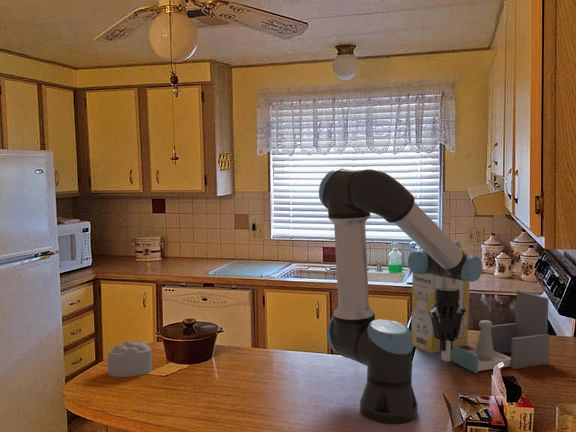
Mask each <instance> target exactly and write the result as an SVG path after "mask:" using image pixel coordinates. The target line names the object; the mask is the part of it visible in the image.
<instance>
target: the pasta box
mask: <svg viewBox="0 0 576 432" xmlns="http://www.w3.org/2000/svg"><path fill="white" fill-rule="evenodd" d="M411 282H412V284H411V285H412V287H411V289H412V290H411V291H412V292H411V297H412V298H411V325H410V328H411V329H410V331H411V333H412V342H413V347H414V348H418V349H421V350H422V351H425V352H428V353H431V354H434V353H438V352H439V353H440V352H441V351H442V350H440V340H438V339H436V338H435V336H434V331H433V326H432V320H431V317H430V315H429V313H428V311H429V310H431V311H432V310H433V309H434V308H435V304H436V299H435V290H436V288H437V287H436V286H435V284H436V275H432V274H424V275H421V274H419V275H417V274H414V273H413V272H412V281H411ZM458 289H459V290H460V299H459V301H458V303H459V307H461V308H463V309H465V313H464V315H463V317H462V321H461V326H460V330H459V335H458V338H455V341H452V344H453V345H456V346H458V347H460V348H463V347H467V346H468V344H469V343H468V341H469V315H470V314H469V313H470V312H469V310H470V308H469V306H470V281H462V280H460V288H458ZM437 313H438V312H437ZM438 318H439V314H438ZM439 323H440V319H439Z"/></svg>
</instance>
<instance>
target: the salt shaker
mask: <svg viewBox="0 0 576 432" xmlns="http://www.w3.org/2000/svg"><path fill="white" fill-rule="evenodd" d="M478 327H479V328H480V331H479V336H478V340H477V343H476V347H475V350H476V354H477V355H478V356H479V357H478V359H479V360H482V361H490V360H491V359H492V357H493V355H494V349H493V342H492V335H491V329H492V327H493V322H492V321H491V320H488V319H483V320H480V321H479V322H478Z"/></svg>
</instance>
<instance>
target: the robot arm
mask: <svg viewBox="0 0 576 432" xmlns="http://www.w3.org/2000/svg"><path fill="white" fill-rule="evenodd" d="M318 188H319V189H318V196H319V200H320V203H321V204H322V205H323V207H325V208H326V209H327V214H328V215H327V217H328V218H327V219H328V220H329V221H331V222H332V223H333V225H334V227H333V228H334V246H335V263H336V285H337V304H338V306H337V308H336V309H335V310H334V311H333V317H332V318H330V320H329V323H328V324H327V326H326V327H327V328H326V339H327V343H328V345H329V347H330V348H331V349H332V350H333V351H334V352H335V353H336V354H338V355H340V356H341V357H344V358H346V359H349V360H352V361H354V362H357V363H360V364H362V365H364V366H366V369H367V371H366V384H365V386H364V389H363V392H362V395H361V398H360V400H359V411H360V413H361V414H362V415H363V417H366V418H367V419H370V420H371V421H375V422H379V423H382V424H383V423H384V424H405V423H409V422H411V421H414V420H415V419H416V418H417V417H418V412H419V411H418V409H419V407H418V406H419V405H418V401H417V398H416V395H415V393H414V389H413V385H412V381H413V380H412V379H413V378H412V375H413V355H414V353H413V350H414V346H413V342H412V333H411V329H410V328H409V327H408V326H407V325H405V324H403V323H402V322H398V321H395V320H390V319H376V317H375V315H376V313H375V310H374V309H373V308H372V307H371V306H370V303H369V301H370V299H369V277H368V257H367V255H368V254H367V236H366V235H367V234H366V232H367V231H366V222H367V221H368V220H369V219H370V218H371V214H374V215H377V216H379V217H380V218H383V219H384V221H385V222H387V223H390V224H395V225H396V226H397V227H398V228H399V229H400V230H401V231H402V232H403V233H404V234H406V235H407V236H408V237H409V238H410V239H411V240H412V241H413V242H414V243H415V244H417V245H418V247H420V249H417V250H413V251H412V252H410V254H409V255H408V258H407V267H408V269H409V270H410V272H411V273H412V274H413V273H414V274H417V275H419V274H421V275H424V274H432V275H436V284H435V286H436V287H437V288H436V290H435V299H436V304H435V308H434V309H433V310H432V311H431V310H429V311H428V313H429V315H430V317H431V320H432V326H433V331H434V336H435V338H436V339H438V340H440V350H442V351H440V353H441V354H440V355H441V356H440V358H441V360H443V361H445V362H447V363H449V362H451V360H450V352H451V350H452V341H455V338H458V335H459V330H460V326H461V321H462V317H463V315H464V313H465V309H463V308H461V307H459V303H458V301H459V299H460V290H459V289H458V288H460V280H462V281H469V283H470V282H471V283H473V282H476V281H478V280H479V279H480V277H481V275H482V273H483V267H484V266H483V262H482V259H481V258H479V256H474V255H473V254H467V253H466V252H464V250H462V249H461V247H462V246H461V243H460V242H459V241H458V240H453V239H452V238H450V236H448V234H447V233H446V232H444V231H443V229H441V227H439V226H438V225H437V224H436V222H434V221H433V220H432V218H430V217H429V215H428V214H426V212H425V211H423V209H421V207H419V205H418V204H416V203H415V202H416V201H415V196H414V195H413V194H412V193H411V192H410V191H409V190H408V189H407V188H406V187H405V186H404V185H402V184H401V182H399V181H398V180H396V179H395V178H394V177H392V176H391V175H390V174H388V173H386V172H384V171H382V170H380V169H377V168H373V167H362V168H360V167H359V168H358V167H356V168H354V167H353V168H352V167H343V168H341V167H340V168H336V169H332V170H330V171H329V172H328V173H326V174H325V175H324V177H323V178H322V179H321V182H320V184H319V187H318ZM437 312H438V313H437ZM438 314H439V318H438ZM439 319H440V323H439Z"/></svg>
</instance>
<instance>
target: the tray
mask: <svg viewBox="0 0 576 432" xmlns="http://www.w3.org/2000/svg"><path fill="white" fill-rule="evenodd" d="M478 357H479V356H478V355H477V354H476V349H468V350H467V349H464V348H463V347H458V346H456V345H453V344H452V350H451V352H450V362H453V363H455V364H457V365H458V366H461V367H462V368H465V369H466V370H469V371H471V372H473V373H475V374H478V373H479V372H480V371H487V370H493V367H494V366H495V365H497V364H498V363H500V362H503V363H504V364H505V366H504V367H503V368H508V367H511V356H507V355H505V354H504V353H498V352H496V351H494V355H493V357H492V359H491V360H490V361H482V360H479V359H478Z"/></svg>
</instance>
